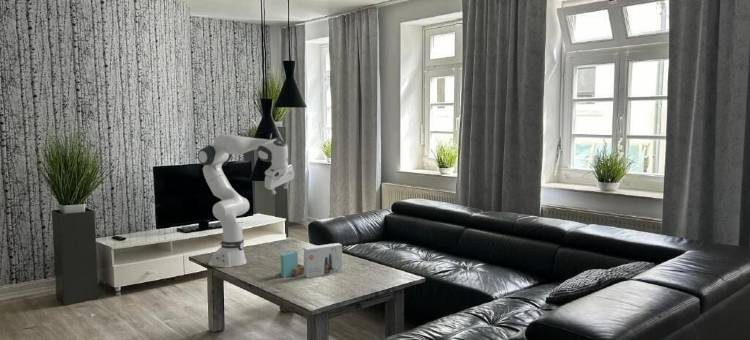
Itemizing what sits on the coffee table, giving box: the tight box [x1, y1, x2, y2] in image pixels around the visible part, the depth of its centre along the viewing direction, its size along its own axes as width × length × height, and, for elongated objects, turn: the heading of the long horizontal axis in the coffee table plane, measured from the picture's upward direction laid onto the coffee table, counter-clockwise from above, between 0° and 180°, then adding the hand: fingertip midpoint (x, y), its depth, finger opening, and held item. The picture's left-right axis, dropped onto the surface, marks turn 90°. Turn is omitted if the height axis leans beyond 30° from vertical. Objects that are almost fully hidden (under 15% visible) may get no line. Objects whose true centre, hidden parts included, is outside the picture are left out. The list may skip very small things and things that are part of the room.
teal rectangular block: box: [279, 251, 299, 278], centre depth 317 cm, size 10×2×12 cm, turn 140°
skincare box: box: [302, 242, 343, 279], centre depth 317 cm, size 21×5×16 cm, turn 117°
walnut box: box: [292, 263, 304, 277], centre depth 321 cm, size 8×11×4 cm
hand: (279, 191), depth 328 cm, fingers open, 8 cm apart
